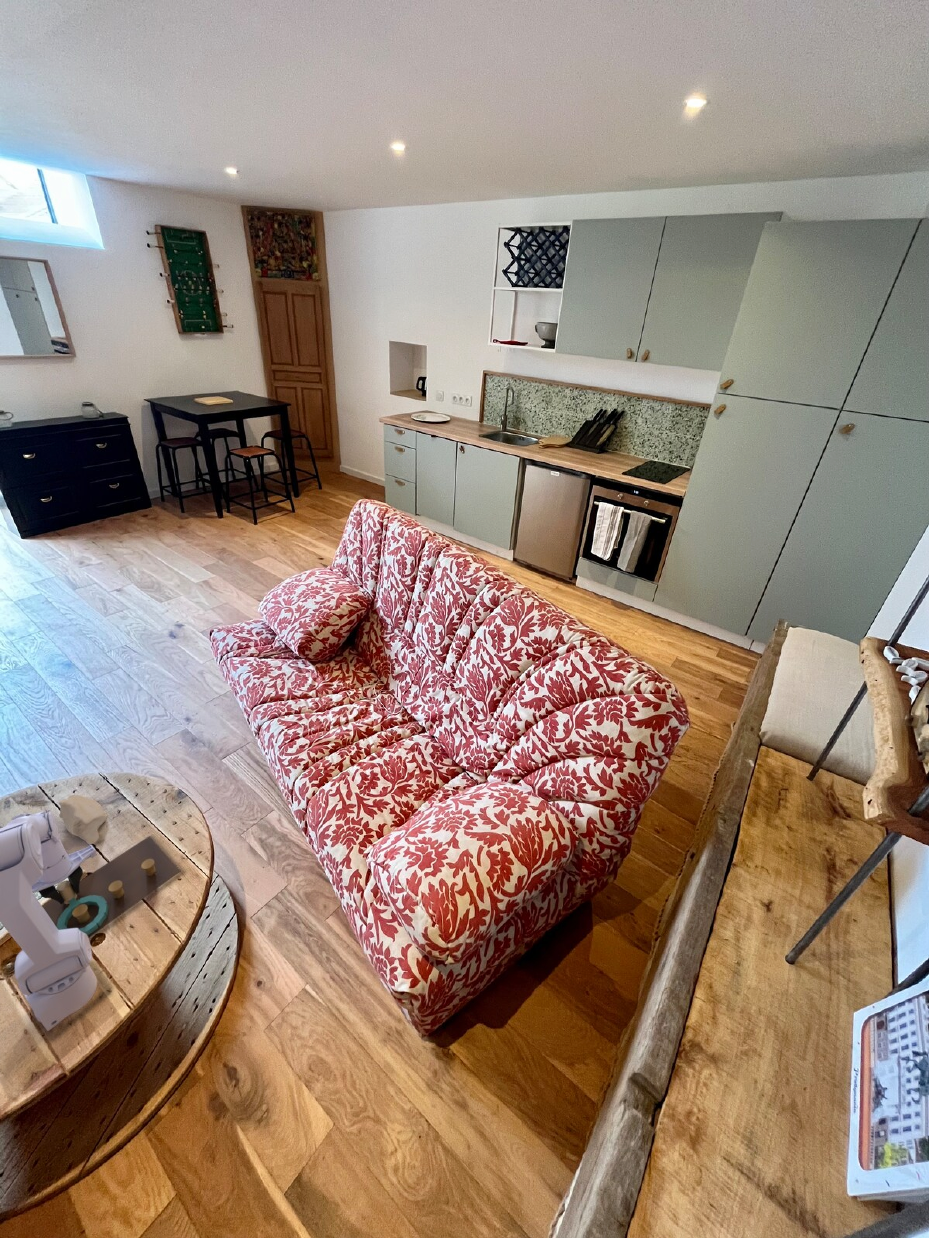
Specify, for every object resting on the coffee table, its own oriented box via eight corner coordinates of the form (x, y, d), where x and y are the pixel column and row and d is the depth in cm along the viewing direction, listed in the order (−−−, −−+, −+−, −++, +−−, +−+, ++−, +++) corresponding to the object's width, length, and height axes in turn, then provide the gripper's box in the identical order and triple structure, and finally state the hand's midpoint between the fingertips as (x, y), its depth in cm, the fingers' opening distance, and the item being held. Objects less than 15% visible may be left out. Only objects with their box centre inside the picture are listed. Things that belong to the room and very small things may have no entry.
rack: (71, 953, 104) (65, 942, 102) (42, 908, 111) (36, 897, 109) (181, 873, 121) (178, 862, 119) (150, 838, 128) (146, 827, 126)
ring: (69, 949, 104) (61, 935, 102) (44, 910, 110) (37, 897, 108) (115, 915, 110) (109, 902, 108) (89, 880, 117) (83, 867, 114)
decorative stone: (81, 852, 123) (71, 831, 119) (60, 819, 131) (49, 797, 126) (118, 831, 129) (110, 809, 125) (96, 800, 136) (87, 779, 132)
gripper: (79, 824, 113) (96, 861, 119) (-2, 871, 102) (22, 909, 109) (93, 842, 109) (110, 879, 116) (11, 892, 99) (35, 930, 105)
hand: (68, 895), depth 112 cm, fingers closed on ring, 2 cm apart
